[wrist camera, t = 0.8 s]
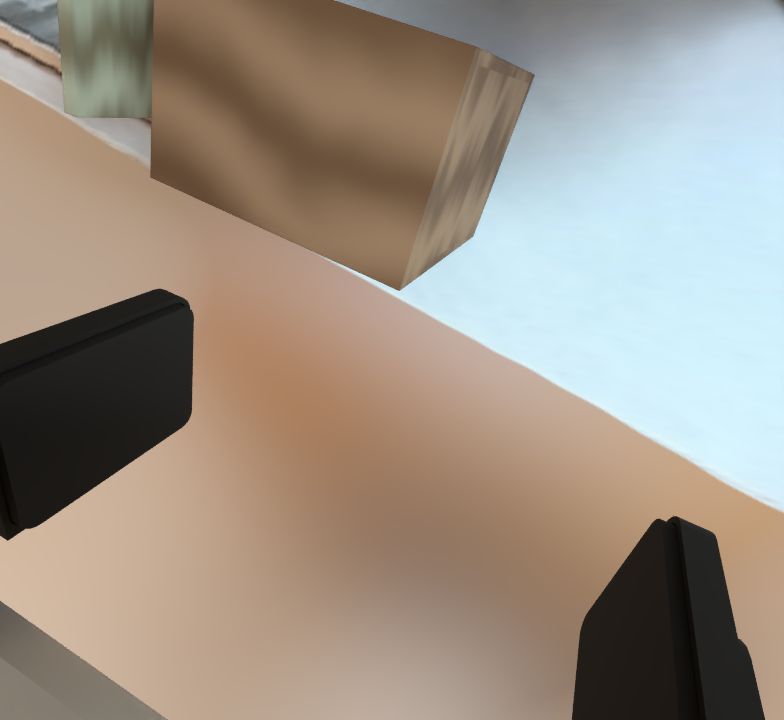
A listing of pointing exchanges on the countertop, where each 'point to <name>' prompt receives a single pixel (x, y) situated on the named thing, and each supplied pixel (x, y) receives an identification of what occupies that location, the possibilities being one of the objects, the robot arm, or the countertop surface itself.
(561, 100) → the countertop surface
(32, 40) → the countertop surface
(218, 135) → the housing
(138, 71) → the green-fronted drawer
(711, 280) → the countertop surface
